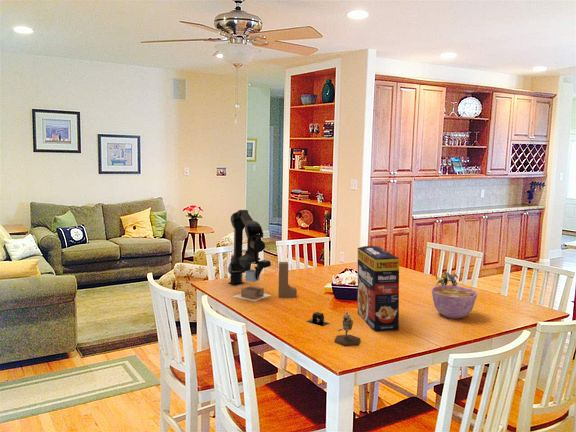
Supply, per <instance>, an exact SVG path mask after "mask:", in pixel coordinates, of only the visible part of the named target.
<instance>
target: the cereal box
mask: <svg viewBox="0 0 576 432" xmlns="http://www.w3.org/2000/svg"><path fill="white" fill-rule="evenodd" d="M399 309H400V258H399V257H397V256H396V255H394V254H392V253H391V252H389V251H387V250H386V249H383V248H382V247H380V246H376V245H365V246H360V247H358V248H357V313H358V314H359V316H360V317H361V318H362V319H363V320H364V321H365V322H366V323H367V324H368V326H369V327H370V328H371V329H372V330H373V331H374V332H396V331H399V330H400V328H399V326H400V325H399V324H400V323H399V322H400V320H399V316H400V315H399V314H400V313H399V312H400V310H399Z"/></svg>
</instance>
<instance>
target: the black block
mask: <svg viewBox="0 0 576 432" xmlns="http://www.w3.org/2000/svg"><path fill="white" fill-rule="evenodd" d="M305 322H306V323H309V324H313V325H317V326H318V327H319V326H320V327H325V326H327V325H330V324H331V323H330V322H327V321H325V315H324V313H322V312H319V311H316V312H313V313H312V316H311V319H308V320H305Z"/></svg>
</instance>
